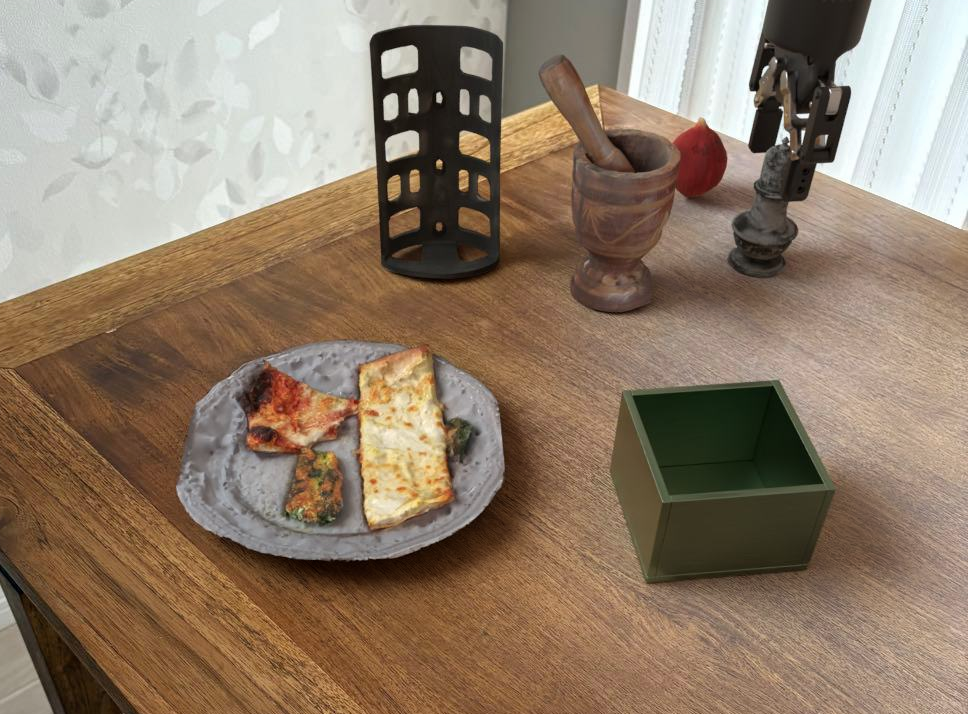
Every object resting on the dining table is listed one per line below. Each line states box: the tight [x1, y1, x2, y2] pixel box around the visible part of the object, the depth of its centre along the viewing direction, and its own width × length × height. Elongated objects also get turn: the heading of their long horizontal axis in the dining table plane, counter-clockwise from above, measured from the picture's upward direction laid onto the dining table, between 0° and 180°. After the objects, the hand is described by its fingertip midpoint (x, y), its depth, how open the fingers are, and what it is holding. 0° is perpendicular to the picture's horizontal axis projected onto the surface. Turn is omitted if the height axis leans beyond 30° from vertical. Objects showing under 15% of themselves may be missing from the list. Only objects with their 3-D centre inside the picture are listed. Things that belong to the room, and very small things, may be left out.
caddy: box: [609, 379, 837, 584], centre depth 76 cm, size 11×11×8 cm
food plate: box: [175, 338, 506, 563], centre depth 82 cm, size 25×23×4 cm
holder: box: [369, 24, 504, 280], centre depth 96 cm, size 11×8×20 cm
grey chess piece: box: [726, 136, 800, 278], centre depth 98 cm, size 6×6×12 cm
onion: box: [672, 117, 728, 199], centre depth 107 cm, size 6×6×8 cm
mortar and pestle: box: [537, 53, 681, 313], centre depth 91 cm, size 12×9×20 cm
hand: (775, 174), depth 96 cm, fingers open, 8 cm apart
